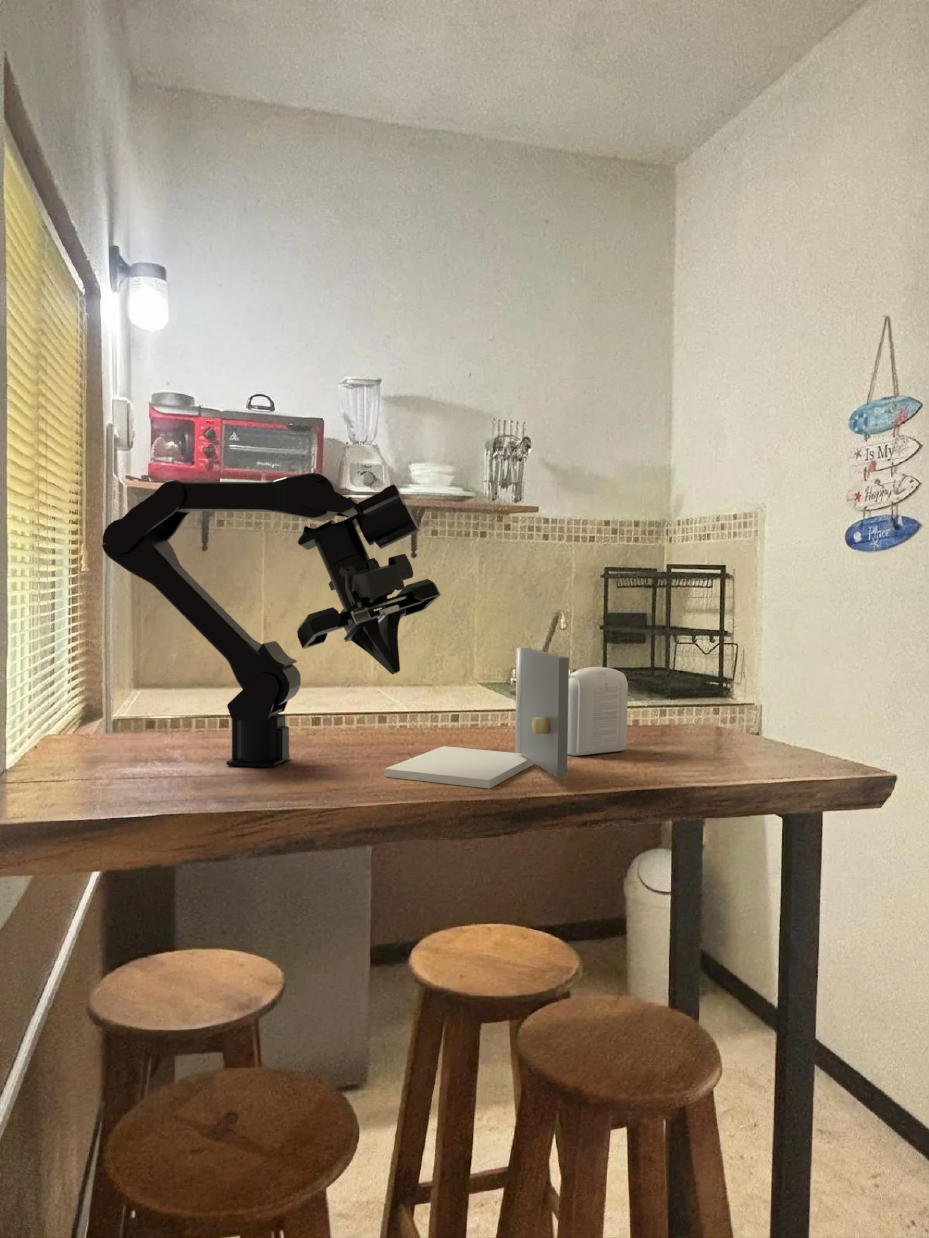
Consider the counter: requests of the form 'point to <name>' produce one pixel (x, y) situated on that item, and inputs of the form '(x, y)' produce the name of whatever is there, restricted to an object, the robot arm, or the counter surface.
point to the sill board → (461, 767)
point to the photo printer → (597, 711)
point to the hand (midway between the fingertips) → (396, 672)
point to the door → (542, 709)
